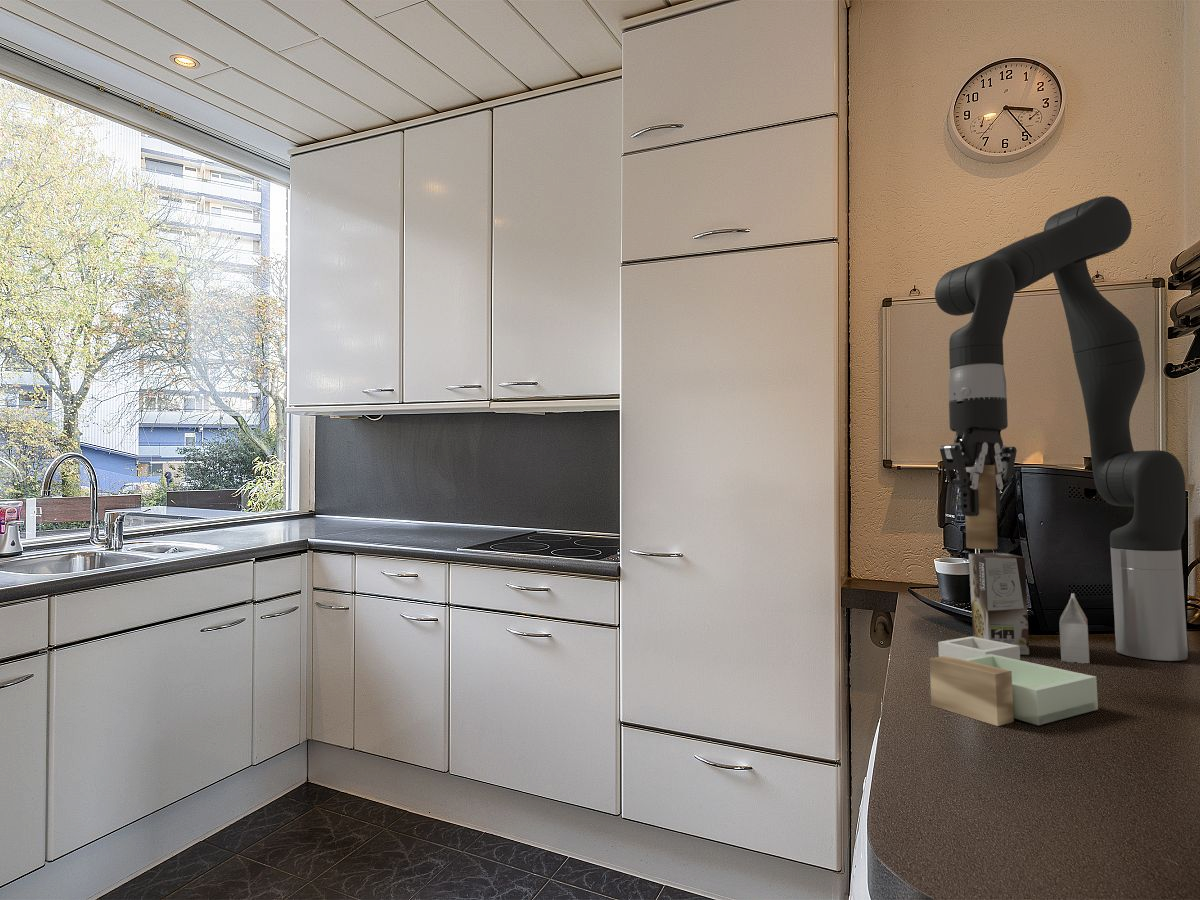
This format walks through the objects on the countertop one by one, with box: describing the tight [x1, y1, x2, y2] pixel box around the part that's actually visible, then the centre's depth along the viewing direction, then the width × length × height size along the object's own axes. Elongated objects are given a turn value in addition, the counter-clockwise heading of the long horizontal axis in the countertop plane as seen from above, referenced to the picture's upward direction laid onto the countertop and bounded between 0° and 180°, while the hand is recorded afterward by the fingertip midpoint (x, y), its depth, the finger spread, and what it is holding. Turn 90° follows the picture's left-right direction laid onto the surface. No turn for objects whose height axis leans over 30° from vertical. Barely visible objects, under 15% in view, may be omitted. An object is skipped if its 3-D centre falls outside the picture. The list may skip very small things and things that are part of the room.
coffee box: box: [968, 552, 1030, 656], centre depth 122 cm, size 9×6×16 cm
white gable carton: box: [1058, 592, 1090, 664], centre depth 114 cm, size 4×7×10 cm, turn 146°
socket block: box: [937, 635, 1021, 660], centre depth 110 cm, size 8×8×4 cm
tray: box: [962, 654, 1099, 726], centre depth 91 cm, size 12×14×4 cm
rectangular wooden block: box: [928, 656, 1015, 727], centre depth 88 cm, size 3×9×6 cm, turn 26°
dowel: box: [964, 465, 999, 550], centre depth 103 cm, size 4×4×12 cm
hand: (980, 515), depth 103 cm, fingers closed on dowel, 4 cm apart
